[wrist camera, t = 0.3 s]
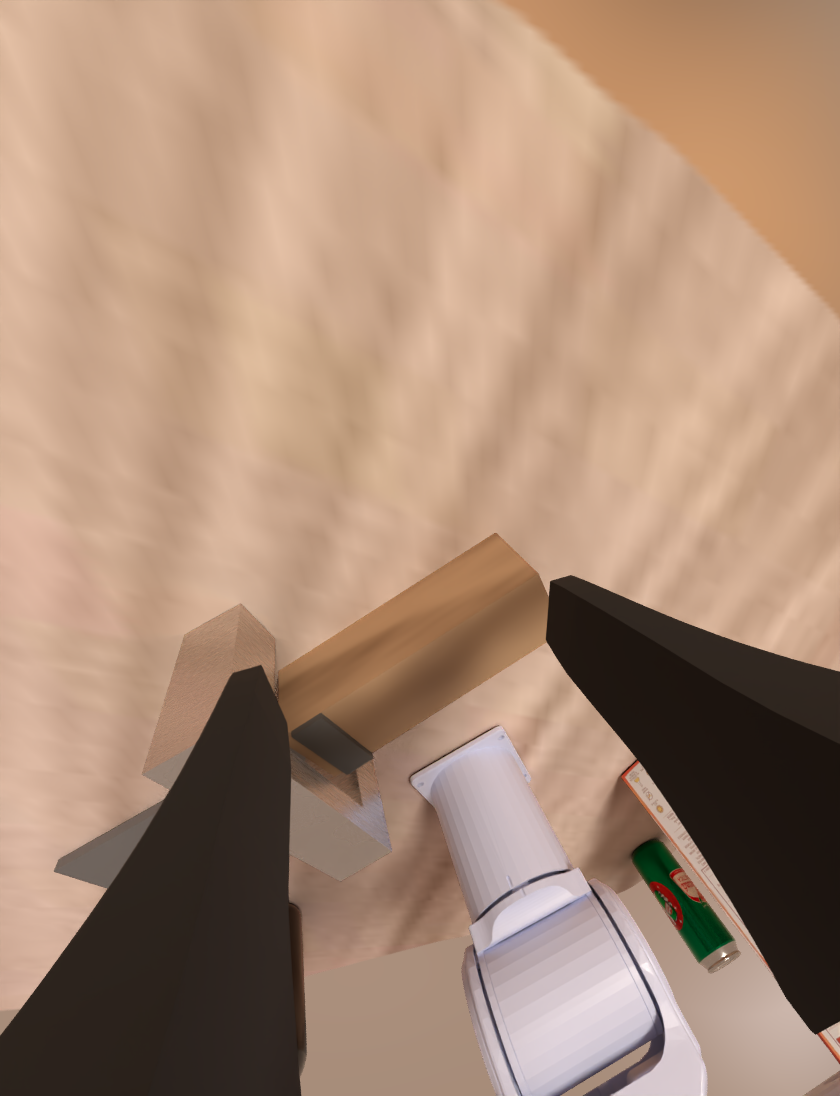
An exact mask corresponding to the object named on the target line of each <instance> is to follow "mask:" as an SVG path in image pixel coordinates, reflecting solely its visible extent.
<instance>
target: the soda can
mask: <svg viewBox="0 0 840 1096" xmlns="http://www.w3.org/2000/svg"><path fill="white" fill-rule="evenodd" d="M632 862H633V864H634V866H635V867H636V869H637V870H638V872H639V873H640V875H641V876H642V878H643V879H644V881H645V882H646V884H647V885H648V887H649V888H650V890H651V891H652V893H653V894H654V896H655V898H656V899H657V901H658V902H659V904H660V905H661V907H662V908H663V910H664V911H665V913H666V914H667V916H668V917H669V919H670V920H671V922H672V924H673V925H674V926H675V928H676V930H677V931H678V932H679V934H680V936H681V937H682V939H683V940H684V942H685V943H686V945H687V946H688V948H689V949H690V951H691V952H692V954H693V956H694V957H695V959H696V960H697V962H698V963H699V964H701V965H702V966H704V967H705V968H706V969H707V970H708V973H714V972H715V971H718V970H720V969H721V968H723V967H725V966H726V965H728V964H729V963H731V962H732V961H734V960H735V959H736V958H738V957H739V956H740V955H741V952H740V951H738V949H737V946H736V942H735V939H734V938H733V936H732V935H731V933H730V932H729V931H728V930H727V928H726V927H725V925H724V924H723V923H722V921H721V920H720V919H719V917H718V916H717V915H716V913H715V912H714V911H713V909H712V908H711V907H710V905H709V904H708V902H707V901H706V900H705V898H704V897H703V896H702V894H701V893H700V892H699V890H698V889H697V888H696V886H695V885H694V884H693V882H692V881H691V879H690V878H689V877H688V875H687V874H686V873H685V871H684V870H683V869H682V867H681V866H680V865H679V863H678V862H677V861H676V859H675V858H674V857H673V855H672V854H671V852H670V851H669V850H668V848H667V847H666V846H665V844H664V843H663V842H661V841H659V840H656V839H655V840H650V841H648V842H646V843H644V844H642V845H641V846H639V847H638V848H637V849H636V850H635V851H634V852H633V854H632Z"/></svg>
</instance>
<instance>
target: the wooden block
mask: <svg viewBox="0 0 840 1096" xmlns="http://www.w3.org/2000/svg"><path fill="white" fill-rule="evenodd" d="M548 603H549V597H548V595H547V592H546V590H545V588H544V585H543V583H542V581H541V578H540V576H539V574H538V573H537V572H536V571H535V570H534V569H533V568H532V567H531V566H530V565H529V564H528V563H527V562H526V561H525V560H524V559H523V558H522V557H521V556H520V555H519V554H518V553H517V552H516V551H514V550H513V549H512V548H511V547H510V546H509V545H508V544H507V543H506V542H505V541H504V540H503V539H502V538H501V537H500V536H499V535H498V534H497V533H494V534H493V535H491V536H490V537H488V538H486V539H485V540H483V541H482V542H480V543H479V544H477V545H475V546H474V547H472V548H471V549H469V550H468V551H466V552H464V553H463V554H461V555H460V556H458V557H457V558H455V559H454V560H452V561H450V562H449V563H447V564H446V565H444V566H443V567H441V568H439V569H438V570H436V571H435V572H433V573H432V574H430V575H428V576H427V577H425V578H424V579H422V580H421V581H419V582H418V583H416V584H414V585H413V586H411V587H410V588H408V589H407V590H405V591H403V592H402V593H400V594H399V595H397V596H396V597H394V598H392V599H391V600H389V601H388V602H386V603H385V604H383V605H382V606H380V607H378V608H377V609H375V610H374V611H372V612H371V613H369V614H367V615H366V616H364V617H363V618H361V619H360V620H358V621H356V622H355V623H353V624H352V625H350V626H349V627H347V628H346V629H344V630H342V631H341V632H339V633H338V634H336V635H335V636H333V637H331V638H330V639H328V640H327V641H325V642H324V643H322V644H320V645H319V646H317V647H316V648H314V649H313V650H311V651H310V652H308V653H306V654H305V655H303V656H302V657H300V658H299V659H297V660H295V661H294V662H292V663H291V664H289V665H288V666H286V667H284V668H283V669H281V670H280V671H278V703H279V705H280V708H281V710H282V712H283V714H284V717H285V719H286V721H287V725H288V736H289V746H290V748H292V749H293V750H295V751H296V752H298V753H299V754H301V755H302V756H304V757H305V758H307V759H308V760H310V761H311V762H313V763H314V764H316V765H317V766H319V767H321V768H322V769H324V770H325V771H327V772H328V773H330V774H331V775H333V776H334V777H335V776H337V775H339V774H340V773H342V772H343V773H345V774H346V775H348V774H350V773H351V772H353V771H354V770H356V769H357V768H359V767H361V766H362V765H364V764H365V763H367V762H368V761H370V760H372V759H373V755H372V753H373V752H375V751H376V750H378V749H379V748H381V747H383V746H384V745H386V744H387V743H389V742H390V741H392V740H394V739H395V738H397V737H398V736H400V735H401V734H403V733H405V732H406V731H408V730H409V729H411V728H412V727H414V726H416V725H417V724H419V723H420V722H422V721H424V720H425V719H427V718H428V717H430V716H431V715H433V714H435V713H436V712H438V711H439V710H441V709H442V708H444V707H446V706H447V705H449V704H450V703H452V702H453V701H455V700H457V699H458V698H460V697H461V696H463V695H464V694H466V693H468V692H469V691H471V690H472V689H474V688H475V687H477V686H479V685H480V684H482V683H483V682H485V681H486V680H488V679H490V678H491V677H493V676H494V675H496V674H497V673H499V672H501V671H502V670H504V669H505V668H507V667H508V666H510V665H512V664H513V663H515V662H516V661H518V660H519V659H521V658H523V657H524V656H526V655H527V654H529V653H530V652H532V651H534V650H535V649H537V648H538V647H540V646H541V645H543V644H545V643H546V642H547V641H546V629H547V616H548Z"/></svg>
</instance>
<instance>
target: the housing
mask: <svg viewBox="0 0 840 1096" xmlns="http://www.w3.org/2000/svg"><path fill="white" fill-rule="evenodd" d="M258 665H262V667H263V669H264V672H265V674H266V676H267V678H268V681H269V683H270V685H271V687H272V690H273V692H274V670H275V638H274V637H273V636H272V635H271V634H270V633H269V632H268V631H267V630H266V629H265V628H264V627H263V626H262V625H261V624H260V623H259V622H258V621H257V620H256V619H255V618H254V617H253V616H252V615H251V614H250V613H249V612H248V611H247V610H246V608H245V607H244V606H243V605H242V604H239V605H238V606H236V607H234V608H232V609H230V610H228V611H227V612H225V613H223V614H221V615H219V616H218V617H216V618H214V619H212V620H210V621H209V622H207V623H205V624H203V625H201V626H200V627H198V628H196V629H194V630H192V631H190V632H189V633H187V634H185V635H184V638H183V642H182V645H181V648H180V651H179V655H178V658H177V661H176V664H175V668H174V671H173V674H172V677H171V681H170V684H169V687H168V690H167V694H166V697H165V700H164V703H163V707H162V710H161V713H160V717H159V720H158V723H157V726H156V730H155V733H154V736H153V739H152V743H151V746H150V749H149V752H148V756H147V759H146V762H145V765H144V769H143V772H142V775H143V776H145V777H147V778H149V779H151V780H153V781H154V782H156V783H158V784H160V785H162V786H164V787H166V788H167V789H169V790H170V789H171V787H172V786H173V784H174V782H175V780H176V779H177V777H178V775H179V773H180V772H181V770H182V768H183V766H184V764H185V762H186V761H187V759H188V757H189V755H190V753H191V751H192V750H193V748H194V746H195V744H196V742H197V740H198V739H199V737H200V735H201V733H202V731H203V729H204V727H205V725H206V723H207V721H208V719H209V717H210V715H211V713H212V711H213V709H214V707H215V705H216V703H217V701H218V699H219V697H220V695H221V693H222V691H223V689H224V687H225V685H226V683H227V681H228V679H229V678H230V676H231V675H232V673H234V672H238V671H241V670H245V669H248V668H252V667H255V666H258ZM290 758H291V808H290V844H289V854H290V855H292V856H294V857H296V858H297V859H299V860H301V861H303V862H305V863H307V864H309V865H310V866H312V867H314V868H316V869H318V870H320V871H322V872H323V873H325V874H327V875H329V876H331V877H333V878H335V879H336V880H338V881H340V882H341V881H343V880H344V879H346V878H348V877H350V876H351V875H353V874H355V873H356V872H358V871H360V870H361V869H363V868H365V867H367V866H368V865H370V864H372V863H373V862H375V861H377V860H379V859H380V858H382V857H384V856H385V855H387V854H389V853H390V852H392V848H391V844H390V839H389V834H388V830H387V825H386V820H385V815H384V811H383V806H382V801H381V797H380V792H379V787H378V783H377V778H376V773H375V769H374V764H373V759H372V760H370V761H368V762H367V763H365V764H364V765H362V766H361V767H359V768H357V769H356V770H354V771H353V772H351V773H350V774H348V775H346V774H345V773H343V772H342V773H340V774H339V775H337V776H335V777H334V776H333V775H331V774H330V773H328V772H327V771H325V770H324V769H322V768H321V767H319V766H317V765H316V764H314V763H313V762H311V761H310V760H308V759H307V758H305V761H304V760H303V759H301V758H300V757H299V756H298V755H296V754H295V753H294V752H292V751H291V750H290Z"/></svg>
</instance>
